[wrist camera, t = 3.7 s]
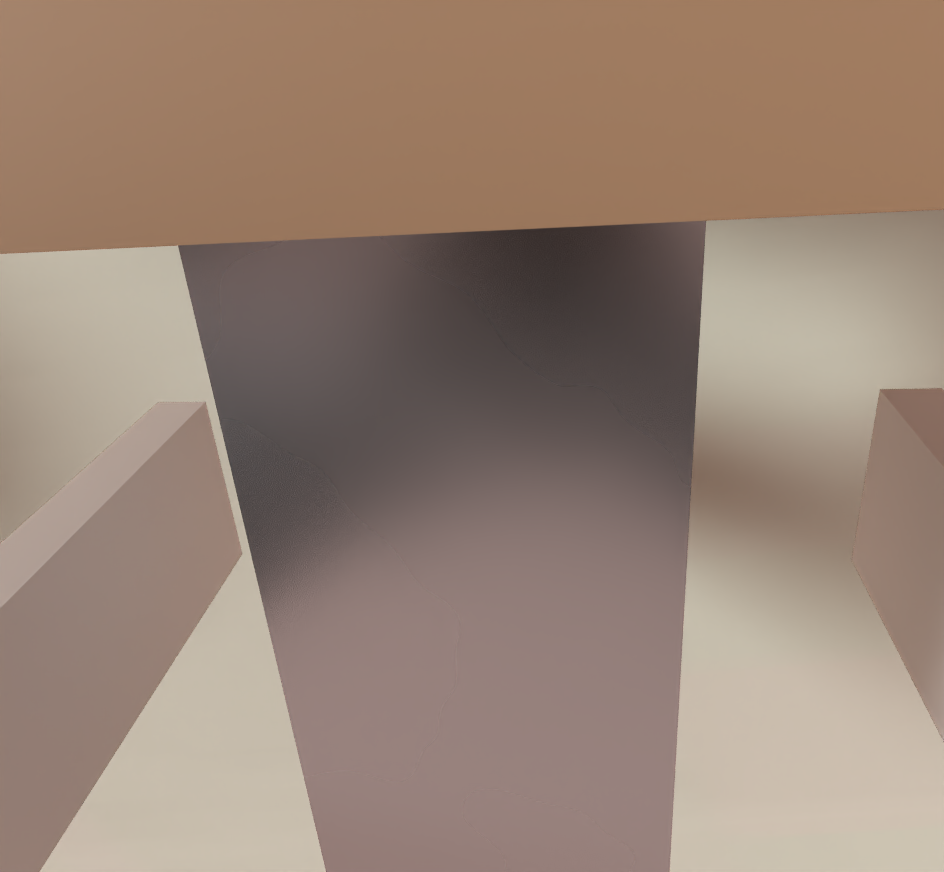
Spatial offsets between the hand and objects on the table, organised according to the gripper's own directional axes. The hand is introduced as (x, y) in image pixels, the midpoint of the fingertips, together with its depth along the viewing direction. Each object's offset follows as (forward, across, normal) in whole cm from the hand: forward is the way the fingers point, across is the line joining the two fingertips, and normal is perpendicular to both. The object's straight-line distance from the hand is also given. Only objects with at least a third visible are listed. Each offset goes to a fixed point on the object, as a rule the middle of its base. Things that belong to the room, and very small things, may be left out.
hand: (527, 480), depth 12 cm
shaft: (-3, 0, +9) cm, 10 cm away
